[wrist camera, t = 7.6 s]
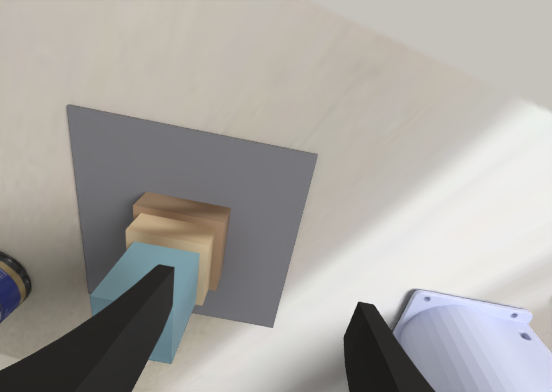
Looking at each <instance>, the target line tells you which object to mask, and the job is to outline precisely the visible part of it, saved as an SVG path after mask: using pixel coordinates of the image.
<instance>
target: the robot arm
mask: <svg viewBox="0 0 552 392" xmlns="http://www.w3.org/2000/svg"><path fill="white" fill-rule="evenodd" d="M174 272H175V267H172V266H167V265H161V264H158V265H157V266H155V267H154V268H153V269H152V270H151V271H150V272H148V273H147V274H146V275H145V276H144V277H143V278H142V279H140V280H139V281H138V282H137V283H136V284H134V285H133V286H132V287H131V288H130V289H128V290H127V291H126V292H125V293H123V294H122V295H121V296H120V297H118V298H117V299H116V300H114V301H113V302H112V303H111V304H109V305H108V306H107V307H105V308H104V309H102V310H101V311H100V312H98V313H97V314H95V315H94V316H93V317H91V318H90V319H88V320H87V321H86V322H84V323H83V324H81V325H80V326H78V327H77V328H75V329H74V330H72V331H70V332H69V333H67V334H66V335H64V336H62V337H61V338H59V339H58V340H56V341H54V342H52V343H51V344H49V345H47V346H45V347H44V348H42V349H40V350H39V351H37V352H35V353H33V354H31V355H30V356H28V357H26V358H24V359H22V360H20V361H18V362H17V363H15V364H13V365H11V366H8V367H6V368H5V369H2V370H1V371H0V392H132V390H133V388H134V386H135V384H136V382H137V380H138V378H139V376H140V375H141V373H142V371H143V369H144V367H145V365H146V363H147V361H148V359H149V357H150V355H151V353H152V352H153V350H154V348H155V346H156V344H157V342H158V340H159V338H160V336H161V334H162V332H163V330H164V327H165V325H166V322H167V320H168V317H169V315H170V312H171V309H172V307H173V292H174ZM425 297H427V298H425ZM532 318H533V315H532V314H531V313H530V311H528V310H524V309H518V308H513V307H508V306H503V305H497V304H492V303H487V302H482V301H476V300H471V299H466V298H461V297H455V296H450V295H445V294H440V293H434V292H429V291H424V290H417V291H415V292H414V293H413V295H412V297H411V298H410V300H409V302H408V304H407V306H406V308H405V310H404V312H403V314H402V316H401V318H400V320H399V322H398V324H397V325H396V327H395V329H394V331H393V333H392V332H391V330H390V328H389V327H388V325H387V324H386V322H385V321H384V319H383V318H382V316H381V315H380V313H379V312H378V310H377V309H376V307H375V306H374V305H373V304H368V303H363V302H358V304H357V306H356V309H355V311H354V314H353V316H352V318H351V321H350V323H349V326H348V328H347V330H346V333H345V335H344V357H345V368H346V374H347V380H348V386H349V392H552V354H551V352H550V351H549V350H548V349H547V347H546V346H545V345H544V344H543V342H542V341H541V340H540V339H539V338H538V336H537V335H536V334H535V333H534V331H533V330H532V329H531V328H530V326H529V325H528V323H529V322H530V321H531V320H532Z"/></svg>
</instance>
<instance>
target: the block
mask: <svg viewBox="0 0 552 392" xmlns="http://www.w3.org/2000/svg"><path fill="white" fill-rule="evenodd" d="M199 257H200V253H196V252H190V251H185V250H179V249H173V248H168V247H162V246H157V245H151V244H146V243H140V242H135V241H134V242H133V244H132V245H131V246H130V247H129V249H128V250H127V251H126V252H125V253H124V255H123V256H122V257H121V258H120V260H119V261H118V262H117V263H116V264H115V266H114V267H113V268H112V269H111V271H110V272H109V273H108V274H107V276H106V277H105V278H104V279H103V280H102V282H101V283H100V284H99V285H98V287H97V288H96V289H95V290H94V291H93V293H92V294H91V295H90V301H91V309H92V317H93V316H94V315H95V314H97V313H98V312H100V311H101V310H102V309H104V308H105V307H107V306H108V305H109V304H111V303H112V302H113V301H114V300H116V299H117V298H118V297H120V296H121V295H122V294H123V293H125V292H126V291H127V290H128V289H130V288H131V287H132V286H133V285H134V284H136V283H137V282H138V281H139V280H140V279H142V278H143V277H144V276H145V275H146V274H147V273H148V272H150V271H151V270H152V269H153V268H154V267H155V266H157V265H158V264H161V265H167V266H172V267H175V272H174V292H173V307H172V309H171V312H170V315H169V317H168V320H167V322H166V325H165V327H164V330H163V332H162V334H161V336H160V338H159V340H158V342H157V344H156V346H155V348H154V350H153V352H152V353H151V355H150V357H149V359H148V360H152V361H158V362H163V363H169V364H172V361H173V359H174V356H175V354H176V351H177V348H178V346H179V343H180V341H181V338H182V336H183V333H184V331H185V328H186V325H187V323H188V320H189V318H190V315H191V313H192V310H193V308H194V305H195V303H196V295H197V283H198V270H199Z"/></svg>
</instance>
